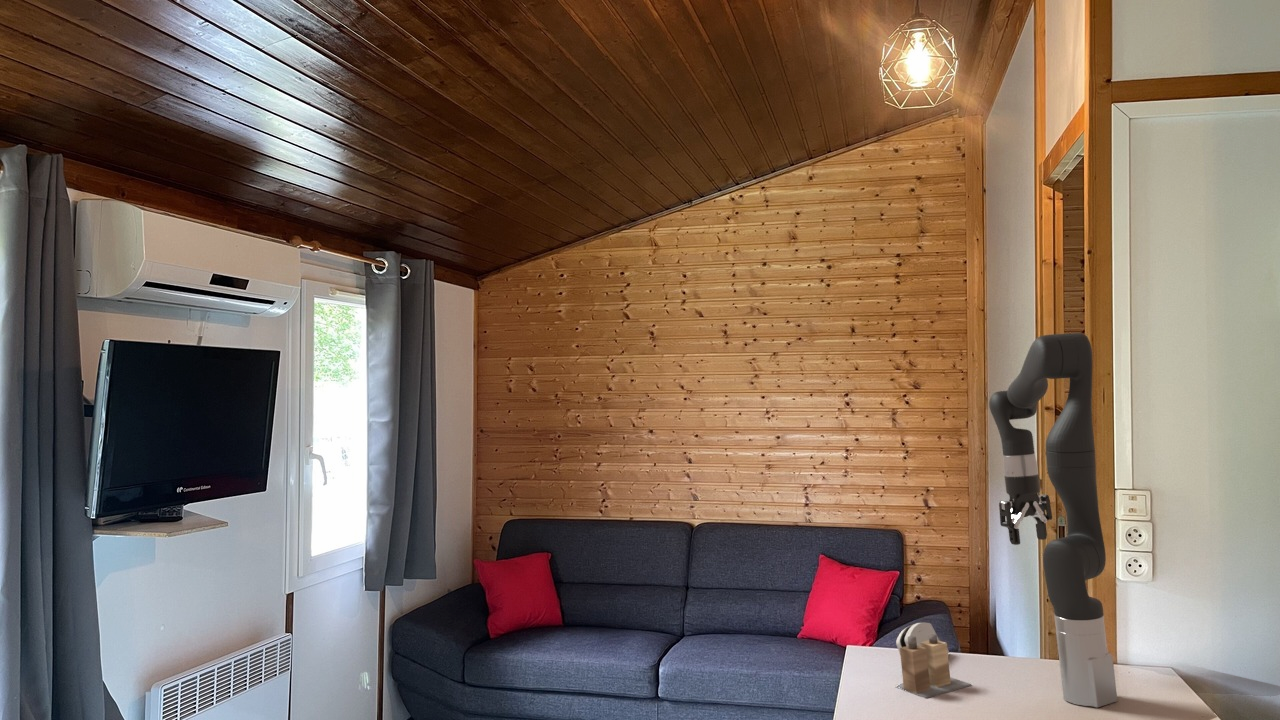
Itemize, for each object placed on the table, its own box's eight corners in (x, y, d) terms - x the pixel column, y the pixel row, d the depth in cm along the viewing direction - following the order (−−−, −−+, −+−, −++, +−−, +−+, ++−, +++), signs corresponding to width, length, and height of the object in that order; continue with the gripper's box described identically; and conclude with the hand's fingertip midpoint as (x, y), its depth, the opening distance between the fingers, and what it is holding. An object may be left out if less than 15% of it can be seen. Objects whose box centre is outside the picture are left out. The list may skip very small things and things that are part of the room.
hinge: (926, 673, 211) (908, 631, 214) (908, 678, 214) (890, 636, 217) (950, 653, 225) (933, 614, 227) (933, 658, 227) (916, 619, 230)
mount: (971, 685, 201) (965, 632, 201) (926, 698, 195) (920, 643, 196) (938, 674, 210) (933, 623, 210) (894, 686, 204) (889, 634, 205)
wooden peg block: (950, 683, 202) (945, 635, 203) (937, 687, 200) (932, 639, 201) (938, 679, 206) (933, 632, 206) (924, 682, 204) (919, 635, 205)
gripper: (1011, 477, 210) (1019, 547, 209) (1055, 470, 216) (1063, 539, 215) (986, 476, 217) (994, 544, 216) (1030, 469, 222) (1038, 536, 222)
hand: (1029, 541), depth 215 cm, fingers open, 8 cm apart
